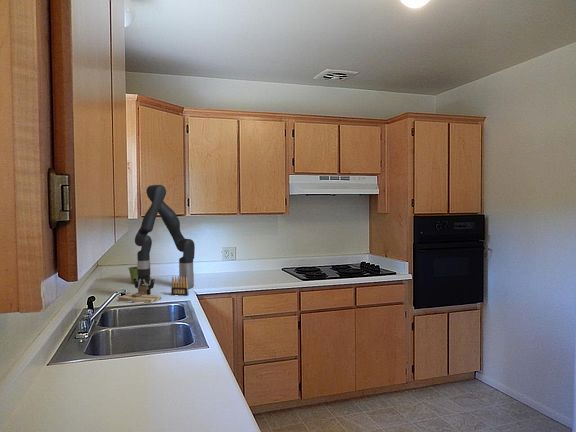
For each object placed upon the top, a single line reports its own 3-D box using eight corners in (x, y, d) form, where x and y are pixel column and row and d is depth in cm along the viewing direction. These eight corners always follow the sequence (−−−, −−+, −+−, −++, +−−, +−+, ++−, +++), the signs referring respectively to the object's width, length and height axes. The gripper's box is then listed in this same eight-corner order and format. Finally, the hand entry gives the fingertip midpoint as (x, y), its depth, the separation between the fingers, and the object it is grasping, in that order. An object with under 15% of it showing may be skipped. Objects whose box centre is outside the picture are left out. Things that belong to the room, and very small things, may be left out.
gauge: (142, 296, 245) (142, 283, 245) (150, 296, 244) (149, 284, 243) (130, 301, 233) (130, 288, 233) (137, 301, 232) (137, 288, 232)
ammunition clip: (188, 295, 248) (188, 276, 248) (187, 295, 246) (187, 276, 246) (172, 294, 250) (172, 275, 249) (171, 295, 248) (170, 276, 247)
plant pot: (131, 285, 275) (131, 269, 274) (126, 282, 284) (125, 267, 284) (148, 283, 282) (148, 267, 282) (142, 280, 292) (142, 265, 291)
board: (129, 297, 243) (129, 293, 243) (160, 299, 237) (160, 295, 237) (118, 301, 233) (118, 297, 233) (150, 304, 227) (150, 299, 227)
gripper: (157, 267, 243) (158, 294, 244) (137, 266, 247) (137, 293, 248) (150, 269, 236) (151, 297, 237) (129, 268, 240) (130, 296, 241)
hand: (144, 295), depth 242 cm, fingers closed on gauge, 5 cm apart
